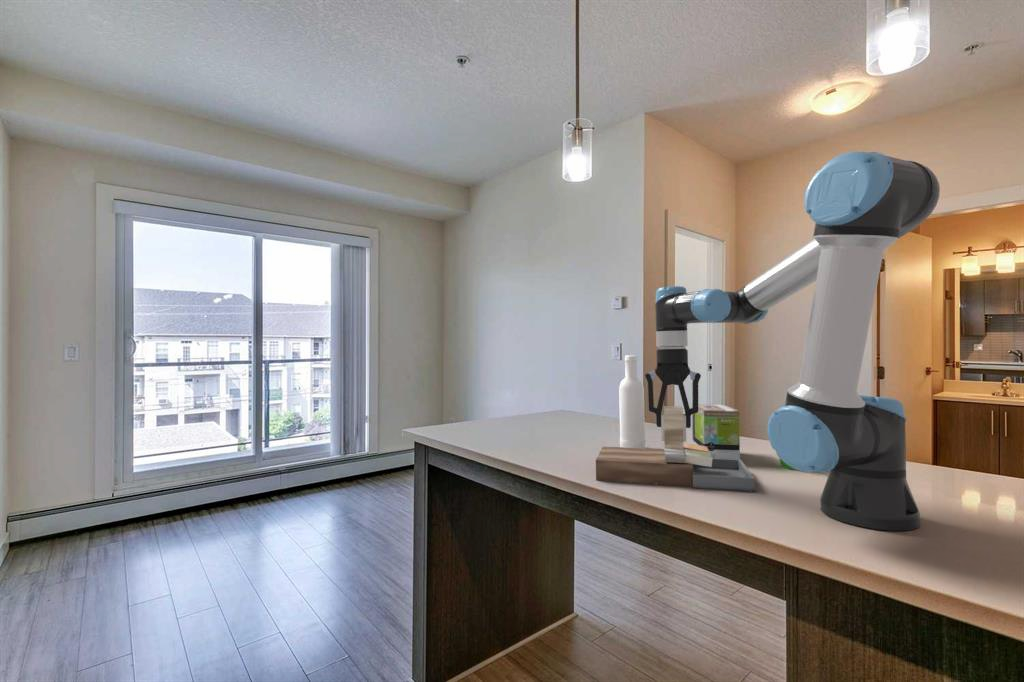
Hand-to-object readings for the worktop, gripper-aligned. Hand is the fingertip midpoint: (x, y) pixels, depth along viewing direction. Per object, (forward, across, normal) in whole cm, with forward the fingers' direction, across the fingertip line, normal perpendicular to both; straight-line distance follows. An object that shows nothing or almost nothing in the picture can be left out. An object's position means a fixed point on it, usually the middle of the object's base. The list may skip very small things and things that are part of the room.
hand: (673, 440), depth 119 cm
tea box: (+9, -12, -25) cm, 29 cm away
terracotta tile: (+4, -5, -4) cm, 8 cm away
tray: (+9, -10, 0) cm, 14 cm away
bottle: (+9, +12, -30) cm, 34 cm away
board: (+9, +8, 0) cm, 12 cm away
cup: (+9, -30, -16) cm, 36 cm away
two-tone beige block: (+4, 0, 0) cm, 4 cm away
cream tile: (+4, -5, +4) cm, 8 cm away
